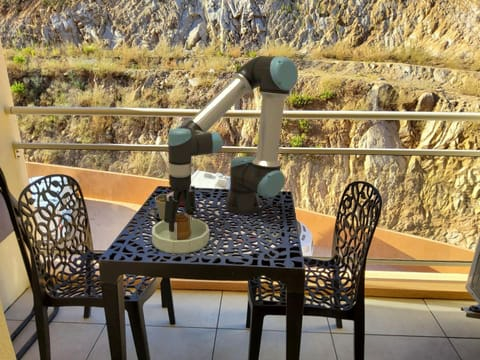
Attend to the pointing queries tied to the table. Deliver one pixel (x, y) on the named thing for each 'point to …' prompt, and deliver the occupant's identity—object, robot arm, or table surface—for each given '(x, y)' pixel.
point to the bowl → (180, 246)
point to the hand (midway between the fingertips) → (180, 234)
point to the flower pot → (161, 205)
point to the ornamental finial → (182, 226)
